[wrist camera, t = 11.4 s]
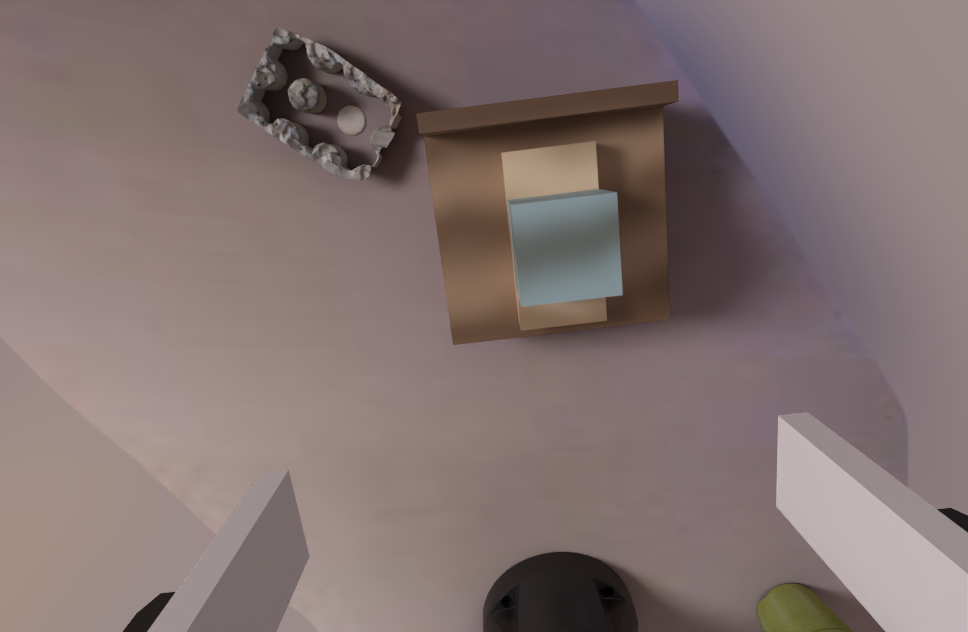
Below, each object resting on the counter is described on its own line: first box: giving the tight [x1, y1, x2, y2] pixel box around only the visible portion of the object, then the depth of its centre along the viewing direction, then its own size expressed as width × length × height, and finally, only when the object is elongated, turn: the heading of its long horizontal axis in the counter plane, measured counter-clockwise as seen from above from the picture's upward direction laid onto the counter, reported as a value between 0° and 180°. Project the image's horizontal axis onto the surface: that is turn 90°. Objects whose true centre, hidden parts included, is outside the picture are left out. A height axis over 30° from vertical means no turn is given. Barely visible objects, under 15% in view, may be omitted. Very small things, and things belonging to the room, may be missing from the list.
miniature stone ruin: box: [237, 28, 402, 180], centre depth 41 cm, size 11×8×4 cm
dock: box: [416, 80, 678, 345], centre depth 40 cm, size 16×16×10 cm
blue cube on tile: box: [501, 141, 623, 331], centre depth 35 cm, size 12×6×7 cm, turn 7°
